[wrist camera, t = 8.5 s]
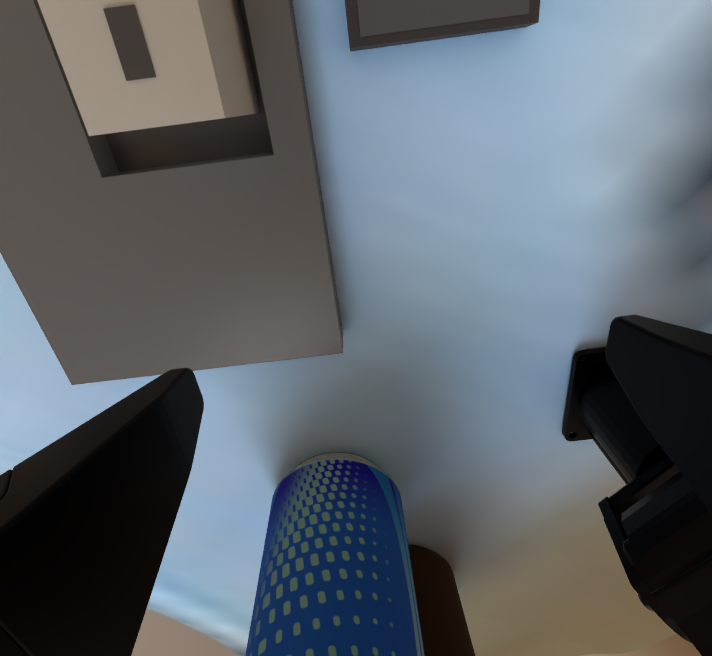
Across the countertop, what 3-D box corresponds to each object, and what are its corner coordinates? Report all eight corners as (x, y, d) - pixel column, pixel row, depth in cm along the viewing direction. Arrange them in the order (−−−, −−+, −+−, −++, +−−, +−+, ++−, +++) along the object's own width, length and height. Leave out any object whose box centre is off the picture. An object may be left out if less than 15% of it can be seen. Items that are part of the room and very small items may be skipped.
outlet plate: (342, 333, 23) (343, 352, 21) (92, 363, 23) (72, 385, 22) (273, -122, 14) (263, -153, 13) (-120, -63, 15) (-182, -85, 13)
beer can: (296, 539, 31) (260, 902, 17) (256, 458, 27) (166, 844, 13) (409, 517, 30) (468, 879, 16) (384, 431, 26) (434, 809, 12)
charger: (260, 112, 17) (224, 118, 12) (165, 125, 17) (87, 136, 12) (236, -9, 15) (180, -67, 10) (129, 6, 16) (18, -44, 10)
